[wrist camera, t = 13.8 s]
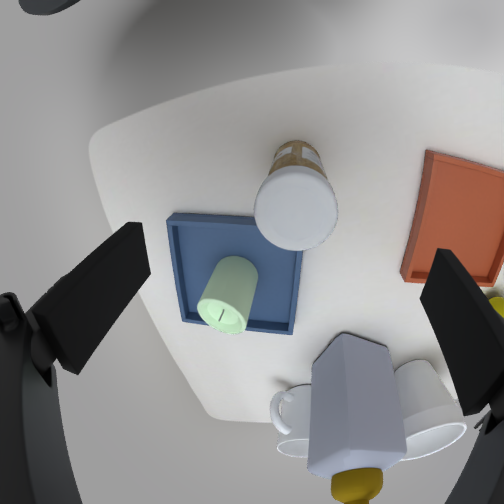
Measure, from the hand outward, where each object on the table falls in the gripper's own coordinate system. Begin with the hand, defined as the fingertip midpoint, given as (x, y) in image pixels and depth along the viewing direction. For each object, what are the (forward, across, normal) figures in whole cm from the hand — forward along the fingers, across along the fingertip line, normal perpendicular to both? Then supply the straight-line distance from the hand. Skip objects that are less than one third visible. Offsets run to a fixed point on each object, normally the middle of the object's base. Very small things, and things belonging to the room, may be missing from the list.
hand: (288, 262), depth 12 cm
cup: (+18, +22, -29) cm, 41 cm away
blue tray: (+17, -6, -12) cm, 22 cm away
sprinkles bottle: (+17, 0, +1) cm, 17 cm away
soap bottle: (+18, +10, -25) cm, 32 cm away
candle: (+17, -6, -12) cm, 22 cm away
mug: (+18, +4, -35) cm, 40 cm away
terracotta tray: (+17, +20, -3) cm, 27 cm away
